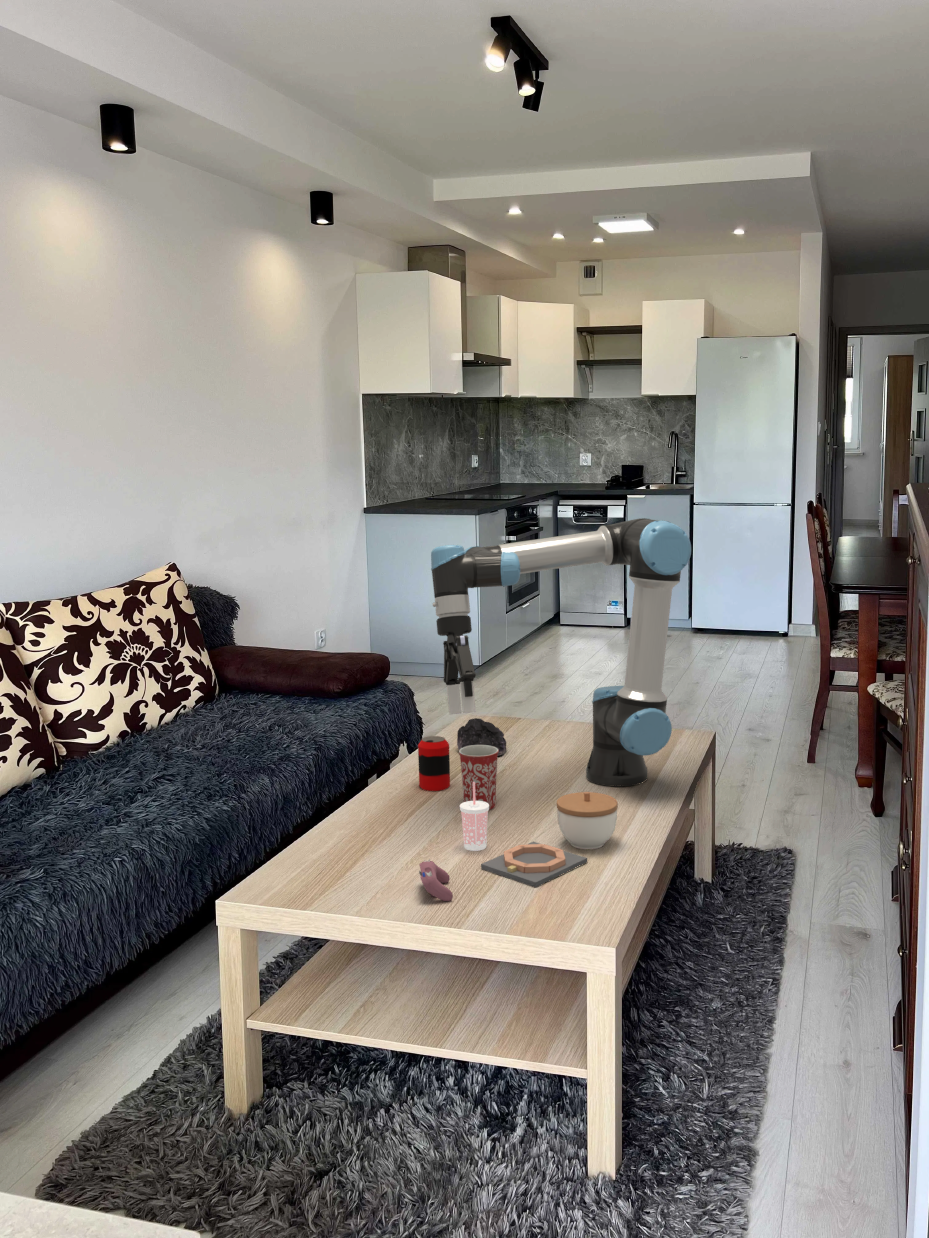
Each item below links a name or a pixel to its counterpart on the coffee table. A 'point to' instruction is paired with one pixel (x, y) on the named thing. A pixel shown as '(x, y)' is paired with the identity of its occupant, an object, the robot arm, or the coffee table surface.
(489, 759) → the mug
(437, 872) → the video game controller
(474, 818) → the beverage cup
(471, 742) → the black rock
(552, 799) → the coffee table surface
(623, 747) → the robot arm
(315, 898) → the coffee table surface
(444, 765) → the soda can
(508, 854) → the ring board
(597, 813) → the lidded bowl
